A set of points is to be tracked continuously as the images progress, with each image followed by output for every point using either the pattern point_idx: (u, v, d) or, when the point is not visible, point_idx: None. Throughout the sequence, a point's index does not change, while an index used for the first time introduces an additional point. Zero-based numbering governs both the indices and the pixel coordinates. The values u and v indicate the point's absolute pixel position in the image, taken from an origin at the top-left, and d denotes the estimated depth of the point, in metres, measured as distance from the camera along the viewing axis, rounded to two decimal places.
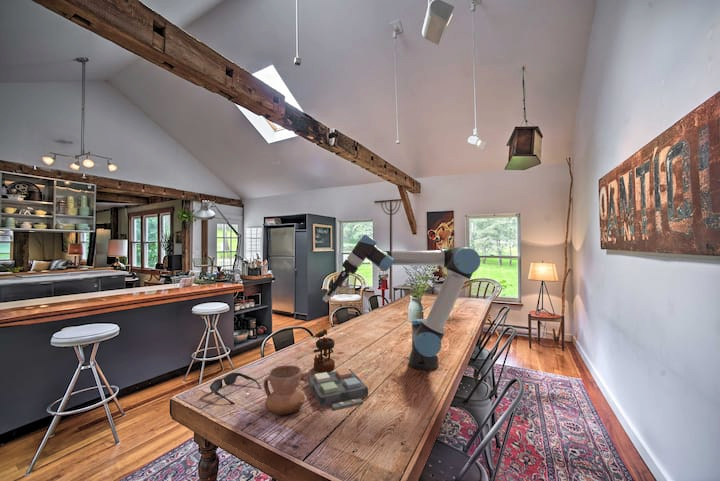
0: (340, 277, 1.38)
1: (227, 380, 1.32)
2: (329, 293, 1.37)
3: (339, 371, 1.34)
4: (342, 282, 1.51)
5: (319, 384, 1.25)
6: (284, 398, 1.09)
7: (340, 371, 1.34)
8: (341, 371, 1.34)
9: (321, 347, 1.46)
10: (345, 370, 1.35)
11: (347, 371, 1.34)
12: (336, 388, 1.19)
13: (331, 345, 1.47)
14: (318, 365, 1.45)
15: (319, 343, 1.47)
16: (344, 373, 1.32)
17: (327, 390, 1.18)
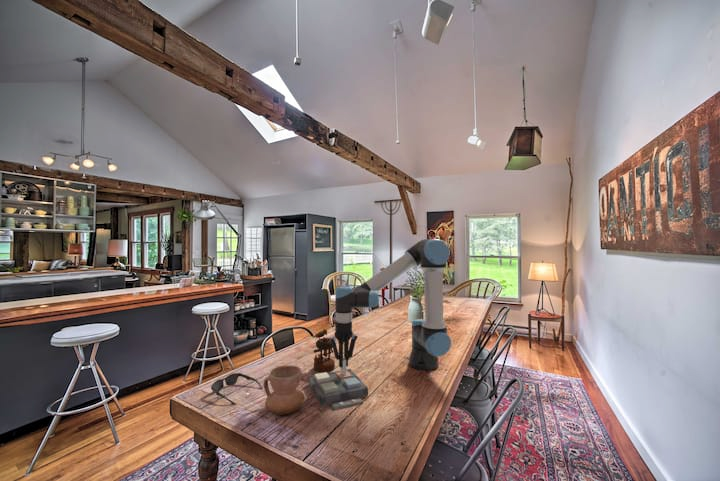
0: (332, 344, 1.32)
1: (228, 381, 1.31)
2: (339, 364, 1.33)
3: (339, 374, 1.34)
4: (347, 352, 1.33)
5: (319, 384, 1.25)
6: (284, 398, 1.09)
7: (340, 374, 1.34)
8: (341, 374, 1.34)
9: (321, 347, 1.46)
10: None
11: (347, 374, 1.34)
12: (336, 388, 1.19)
13: (331, 345, 1.47)
14: (318, 365, 1.45)
15: (319, 343, 1.47)
16: (344, 376, 1.32)
17: (327, 390, 1.18)
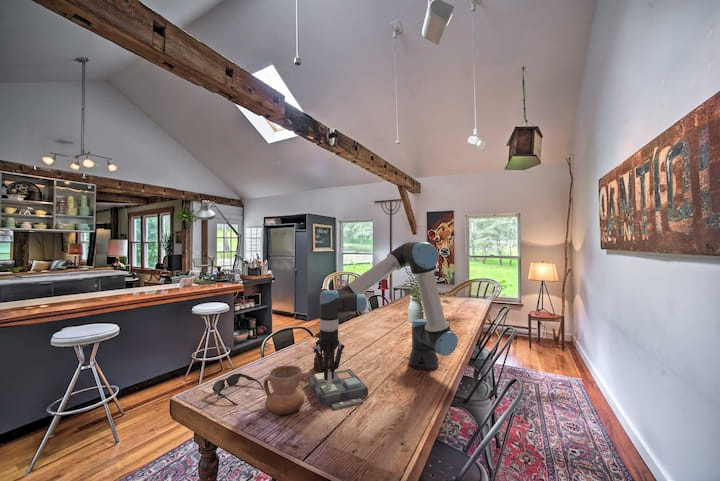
0: (316, 355, 1.19)
1: (229, 381, 1.31)
2: (324, 376, 1.20)
3: (339, 374, 1.34)
4: (333, 363, 1.20)
5: (319, 384, 1.25)
6: (284, 398, 1.09)
7: (340, 374, 1.34)
8: (341, 375, 1.34)
9: None
10: (345, 373, 1.35)
11: (347, 374, 1.34)
12: (336, 390, 1.19)
13: None
14: (318, 365, 1.45)
15: None
16: (344, 377, 1.32)
17: (327, 392, 1.18)
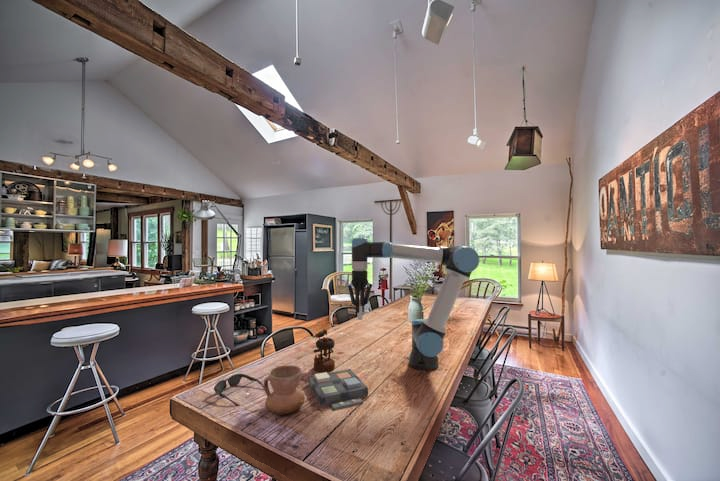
0: (349, 291, 1.41)
1: (231, 382, 1.30)
2: (356, 310, 1.42)
3: (339, 374, 1.34)
4: (363, 298, 1.42)
5: (319, 384, 1.25)
6: (284, 398, 1.09)
7: (340, 374, 1.34)
8: (341, 375, 1.34)
9: (321, 347, 1.46)
10: (345, 373, 1.35)
11: (347, 374, 1.34)
12: None
13: (331, 345, 1.47)
14: (318, 365, 1.45)
15: (319, 343, 1.47)
16: (344, 377, 1.32)
17: None
